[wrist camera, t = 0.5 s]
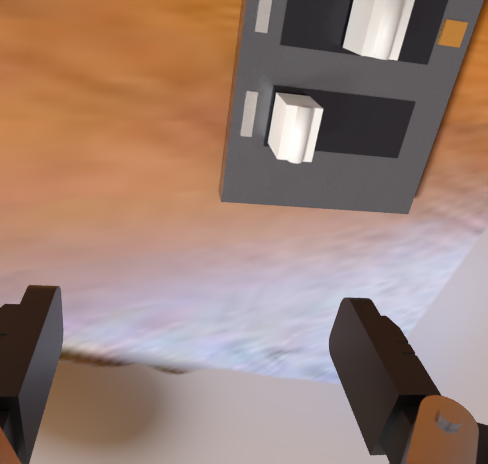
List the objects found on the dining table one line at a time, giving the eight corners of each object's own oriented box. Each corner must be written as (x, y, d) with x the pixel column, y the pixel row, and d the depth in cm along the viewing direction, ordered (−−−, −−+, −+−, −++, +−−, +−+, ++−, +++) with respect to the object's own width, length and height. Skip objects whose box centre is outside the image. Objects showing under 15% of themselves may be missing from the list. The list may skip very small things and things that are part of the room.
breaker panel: (278, -301, 23) (288, -325, 21) (543, -226, 26) (571, -241, 24) (218, 190, 37) (221, 202, 35) (397, 203, 40) (409, 215, 38)
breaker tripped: (356, -13, 28) (381, -12, 25) (391, -8, 29) (420, -5, 25) (342, 47, 30) (364, 56, 27) (375, 51, 31) (400, 61, 27)
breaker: (276, 92, 31) (288, 106, 28) (309, 96, 31) (325, 110, 28) (267, 142, 33) (278, 162, 29) (299, 145, 33) (313, 164, 30)
